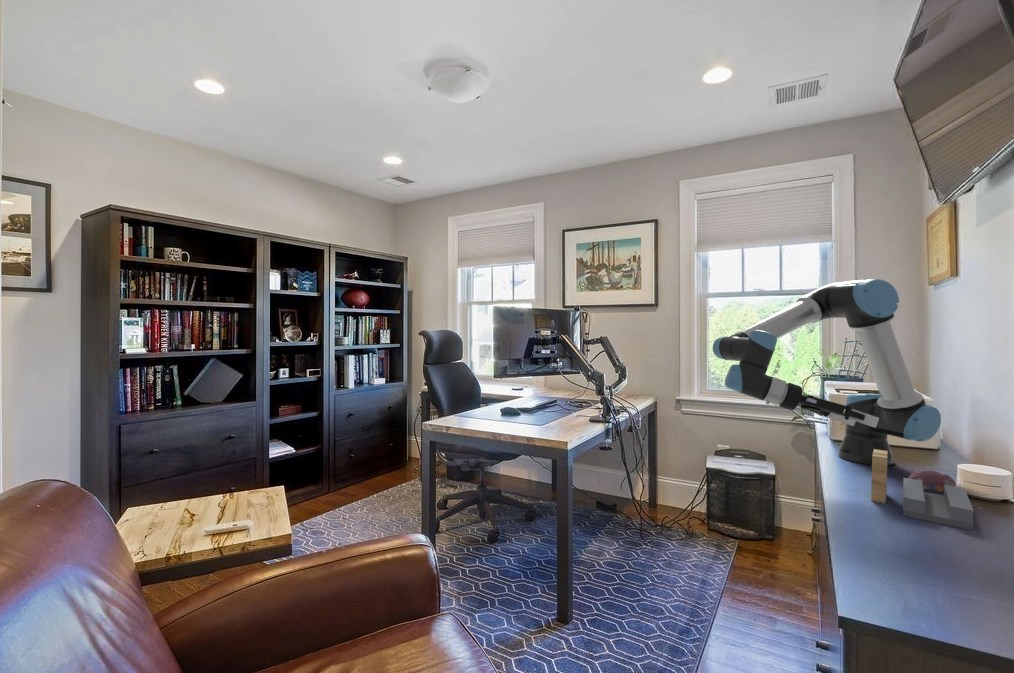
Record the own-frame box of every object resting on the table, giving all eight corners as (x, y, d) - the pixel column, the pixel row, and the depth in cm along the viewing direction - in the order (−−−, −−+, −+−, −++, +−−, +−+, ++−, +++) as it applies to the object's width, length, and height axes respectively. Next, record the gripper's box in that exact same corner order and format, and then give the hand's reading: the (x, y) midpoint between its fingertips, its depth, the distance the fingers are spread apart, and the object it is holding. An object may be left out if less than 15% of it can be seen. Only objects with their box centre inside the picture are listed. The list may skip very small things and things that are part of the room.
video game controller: (908, 493, 133) (912, 474, 130) (904, 482, 137) (908, 463, 134) (954, 499, 128) (959, 480, 126) (949, 488, 132) (954, 469, 129)
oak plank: (872, 491, 130) (873, 449, 129) (886, 494, 128) (887, 451, 128) (870, 500, 123) (872, 455, 123) (885, 503, 121) (886, 457, 121)
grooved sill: (903, 493, 128) (903, 477, 128) (963, 504, 120) (964, 487, 120) (903, 515, 113) (903, 497, 113) (972, 530, 105) (973, 510, 105)
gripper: (767, 406, 147) (842, 432, 140) (791, 405, 123) (882, 437, 116) (775, 384, 147) (851, 409, 140) (800, 379, 123) (892, 409, 117)
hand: (865, 422), depth 128 cm, fingers open, 13 cm apart
